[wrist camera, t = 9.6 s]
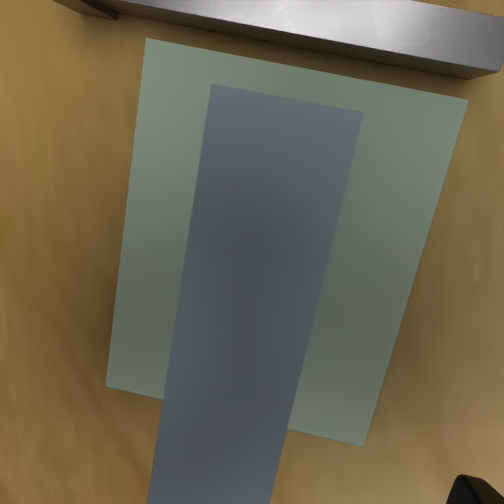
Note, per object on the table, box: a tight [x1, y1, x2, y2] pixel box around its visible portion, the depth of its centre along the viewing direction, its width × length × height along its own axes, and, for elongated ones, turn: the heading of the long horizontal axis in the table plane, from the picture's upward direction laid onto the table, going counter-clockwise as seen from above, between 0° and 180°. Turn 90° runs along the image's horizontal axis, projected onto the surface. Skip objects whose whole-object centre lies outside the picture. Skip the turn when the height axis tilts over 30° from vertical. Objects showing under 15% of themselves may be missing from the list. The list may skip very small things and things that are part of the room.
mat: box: [105, 38, 469, 447], centre depth 20 cm, size 12×15×1 cm
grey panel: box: [147, 83, 364, 504], centre depth 15 cm, size 3×12×9 cm, turn 169°
